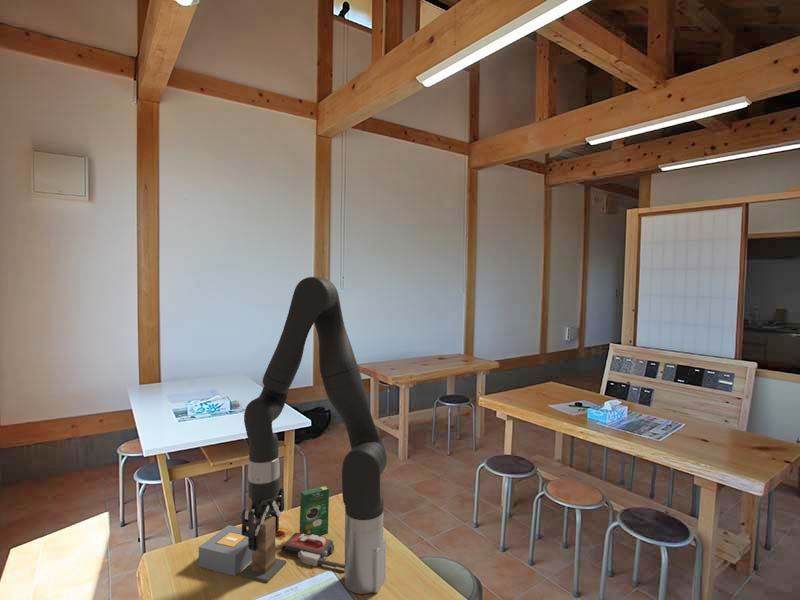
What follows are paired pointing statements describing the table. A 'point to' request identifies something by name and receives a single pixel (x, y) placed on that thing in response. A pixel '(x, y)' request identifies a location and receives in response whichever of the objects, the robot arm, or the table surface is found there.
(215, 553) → the box
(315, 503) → the coffee box
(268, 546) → the tall cardboard-brown rectangular prism
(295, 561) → the table surface
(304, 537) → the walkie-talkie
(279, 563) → the mat
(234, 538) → the button
